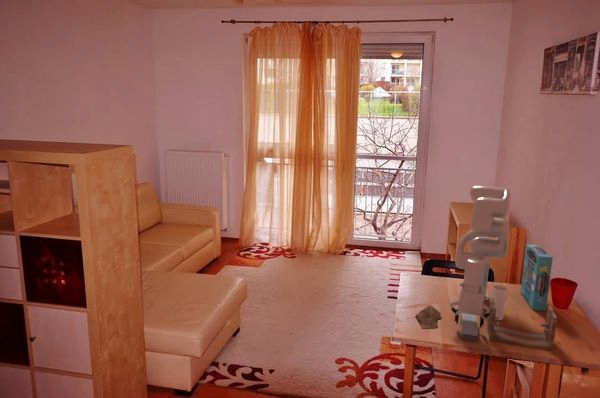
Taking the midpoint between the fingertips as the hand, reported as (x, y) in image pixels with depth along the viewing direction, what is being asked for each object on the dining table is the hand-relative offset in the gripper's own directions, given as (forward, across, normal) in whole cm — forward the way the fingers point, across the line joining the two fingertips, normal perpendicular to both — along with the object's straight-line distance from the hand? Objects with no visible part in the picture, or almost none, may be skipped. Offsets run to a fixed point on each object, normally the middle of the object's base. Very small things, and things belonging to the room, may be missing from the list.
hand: (468, 324), depth 199 cm
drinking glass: (+3, +13, +17) cm, 22 cm away
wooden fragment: (+3, -17, +8) cm, 19 cm away
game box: (+3, +32, +43) cm, 54 cm away
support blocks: (+3, 0, 0) cm, 3 cm away
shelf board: (0, 0, 0) cm, 0 cm away
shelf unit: (+3, +20, 0) cm, 20 cm away
